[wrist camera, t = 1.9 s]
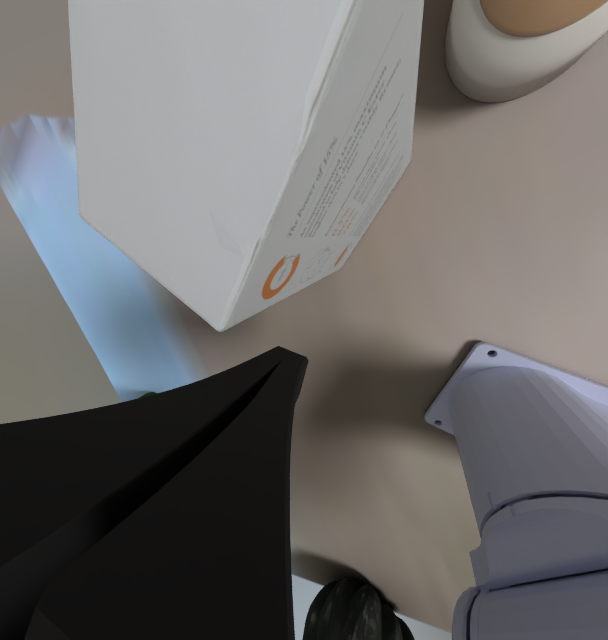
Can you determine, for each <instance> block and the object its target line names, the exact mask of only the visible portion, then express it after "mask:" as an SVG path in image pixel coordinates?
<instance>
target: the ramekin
mask: <svg viewBox="0 0 608 640" xmlns="http://www.w3.org/2000/svg"><path fill="white" fill-rule="evenodd" d="M607 31H608V0H453V4H452V8H451V13H450V18H449V23H448V27H447V32H446V40H445V60H446V66H447V70H448V73H449V76H450V78H451V80H452V82H453V83H454V85H455V86H456V88H457V89H458V90H460V91H461V92H462V93H463V94H464V95H466V96H467V97H469V98H472V99H474V100H477V101H482V102H494V103H495V102H504V101H509V100H513V99H516V98H519V97H522V96H525V95H527V94H529V93H532V92H534V91H536V90H538V89H540V88H541V87H543V86H545V85H546V84H548V83H550V82H551V81H553V80H554V79H556V78H557V77H558V76H560V75H561V74H563V73H564V72H565V71H566V70H567V69H569V68H570V67H571V66H572V65H573V64H575V63H576V62H577V61H578V60H579V59H580V58H581V57H582V56H583V55H584V54H585V53H586V52H587V51H588V50H589V49H590V48H591V47H592V46H593V45H594V44H595V43H596V42H597V41H598V40H599V39H600V38H601V37H602V36H603V35H604V34H605V33H606V32H607Z"/></svg>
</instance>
